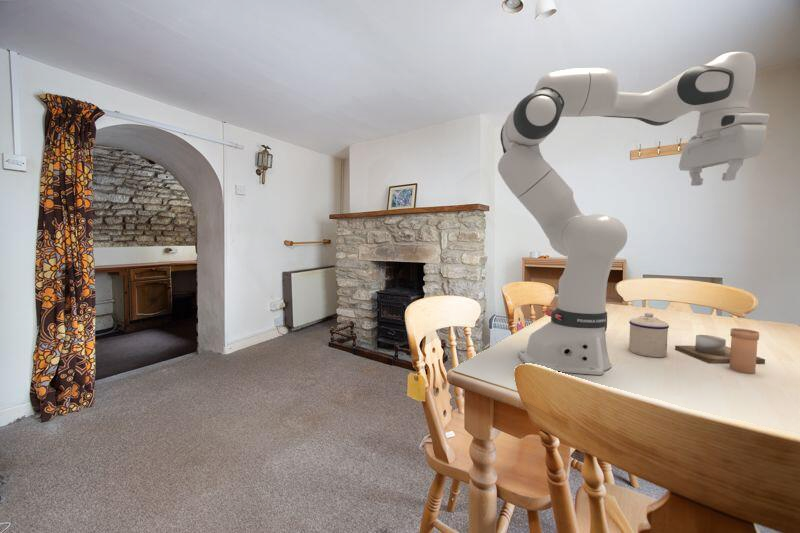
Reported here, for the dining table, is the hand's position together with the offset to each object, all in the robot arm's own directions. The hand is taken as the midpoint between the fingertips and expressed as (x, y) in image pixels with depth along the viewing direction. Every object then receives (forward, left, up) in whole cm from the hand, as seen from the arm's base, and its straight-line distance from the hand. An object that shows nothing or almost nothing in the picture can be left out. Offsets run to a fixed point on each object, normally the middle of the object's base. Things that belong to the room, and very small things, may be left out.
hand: (711, 183), depth 81 cm
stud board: (+9, +5, -47) cm, 48 cm away
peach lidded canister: (+6, -5, -47) cm, 48 cm away
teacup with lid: (-8, +9, -47) cm, 49 cm away
